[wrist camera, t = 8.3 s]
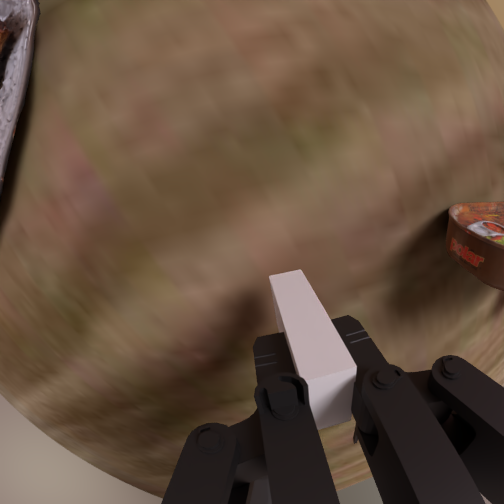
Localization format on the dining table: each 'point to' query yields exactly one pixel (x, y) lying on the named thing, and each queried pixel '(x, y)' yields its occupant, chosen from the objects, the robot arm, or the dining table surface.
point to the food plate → (14, 67)
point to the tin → (478, 240)
